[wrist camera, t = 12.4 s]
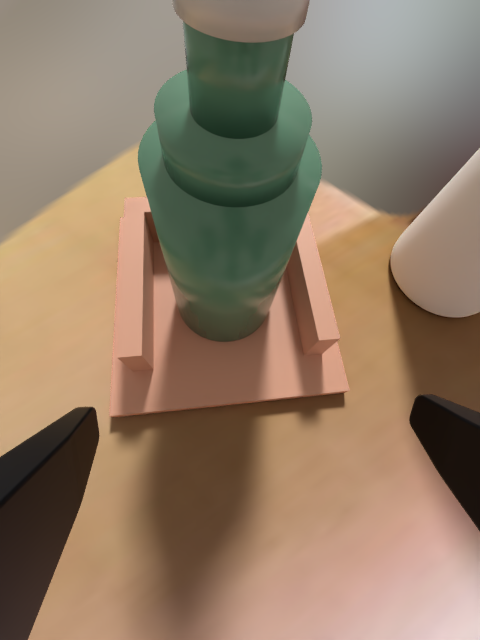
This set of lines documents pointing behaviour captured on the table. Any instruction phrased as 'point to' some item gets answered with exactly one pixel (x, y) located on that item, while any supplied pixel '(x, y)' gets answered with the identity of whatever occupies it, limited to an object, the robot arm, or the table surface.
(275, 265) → the bottle
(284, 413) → the table surface
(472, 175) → the pill bottle
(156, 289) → the u rest
